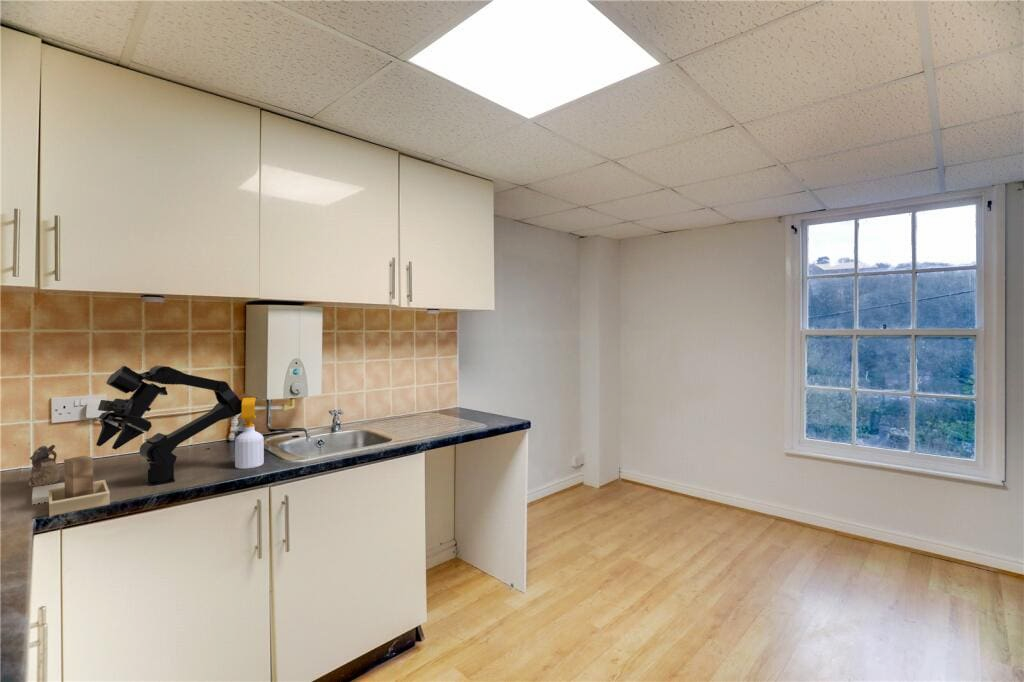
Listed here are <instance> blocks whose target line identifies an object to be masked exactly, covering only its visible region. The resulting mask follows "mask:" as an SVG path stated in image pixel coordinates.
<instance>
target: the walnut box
mask: <svg viewBox="0 0 1024 682" xmlns="http://www.w3.org/2000/svg"><path fill="white" fill-rule="evenodd" d="M93 459H94V457H93V456H88V455H80V456H76V457H70V458H66V459H64V460H63V464H64V465H63V467H64V468H63V470H64V471H63V473H64V474H63V475H64V477H63V478H64V482H65V499H68V498H74V497H79V496H85V495H90V494H93V482H94V462H93V461H94V460H93Z"/></svg>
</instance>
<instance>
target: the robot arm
mask: <svg viewBox="0 0 1024 682" xmlns="http://www.w3.org/2000/svg"><path fill="white" fill-rule="evenodd" d="M145 381H146V382H145ZM148 382H150V383H148ZM157 384H159V385H160V384H161V385H173V386H174V385H180V386H181V385H183V386H188V387H194V388H198V389H204V390H209V391H213V392H214V395H215V399H216V401H217V403H216V404H215V405H214V406H213V407H212V409H211V410H210V411H208V412H206V413H204V414H203V415H201V416H199V417H197V418H195V419H194V420H191V421H190V422H188V423H186V424H184V425H183V426H181V427H179V428H177V429H175V430H174V431H172V432H170V433H168V434H163V433H161V432H158V433H155V434H154V435H152V436H151V437H149V438H146V439H145V441H144V442H143V443H142V444H141V445H140V446H139V447H140V448H139V454H140V456H141V457H143V458H144V459H146V461H147V463H148V467H147V468H146V469H145V471H146V474H145V475H146V482H147V484H149V486H155V485H156V484H157V485H161V484H167V482H168V483H172V481H173V482H176V479H175V463H176V461H177V455H176V454H174V453H173V451H174V450H175V449H176V448H177V447H178V445H180V444H182V443H183V442H186V441H187V440H189V439H190V438H192V437H194V436H195V435H197V434H199V433H201V432H202V431H205V430H206V429H208V428H210V427H211V426H213V425H214V424H216V423H218V422H220V421H223V420H227V419H230V418H233V417H236V416H238V415H240V414H242V401H243V400H242V399H240V398H239V397H238V395H237V394H236V393H235V392H234V391H233V390H232V389H231V387H230V385H229V384H228V382H227V381H224V380H215V379H211V378H206V377H202V376H197V375H192V374H187V373H185V372H182V371H181V370H179V369H175V368H173V367H170V366H168V365H165V366H164V365H154V366H153V367H152V366H151V368H150V369H149V370H148V371H144V372H140V373H138V372H136V371H134V370H132V369H131V368H130V367H128V366H126V365H122V366H121V367H120V368H119V369H117V370H116V371H115V372H114V373H111V375H110V376H109V377H108V379H107V381H106V385H108V386H110V387H112V388H114V389H116V390H118V391H120V392H122V393H123V394H129V393H132V394H131V396H130V397H129V398H125V399H123V398H115V399H113V401H112V400H105V399H101V400H100V402H99V404H98V409H97V411H99V412H100V411H101V412H102V413H100V415H99V417H98V420H99V423H100V425H101V430H100V432H99V436H98V439H97V442H96V444H95V445H96V446H97V447H102V446H103V445H104V444H105V443H107V442H108V441H109V440H111V439H112V438H113V437H114V436H116V435H117V434H118V433H119V432H120V433H119V434H118V436H117V438H116V439H115V441H114V442H113V444H112V447H111V449H113V450H115V451H116V450H117V449H119V448H120V447H123V446H124V445H126V444H128V442H130V441H132V440H134V439H135V438H137V437H139V436H141V435H143V434H145V432H147V433H148V432H149V431H150V430H151V428H152V427H153V426H152V422H151V421H149V420H147V419H145V418H143V416H144V415H145V413H146V412H150V411H151V410H152V408H151V405H152V404H153V403H154V401H156V398H157V397H158V396H159V395H161V396H168V395H169V394H168V391H167V387H166V386H159V385H157Z"/></svg>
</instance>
